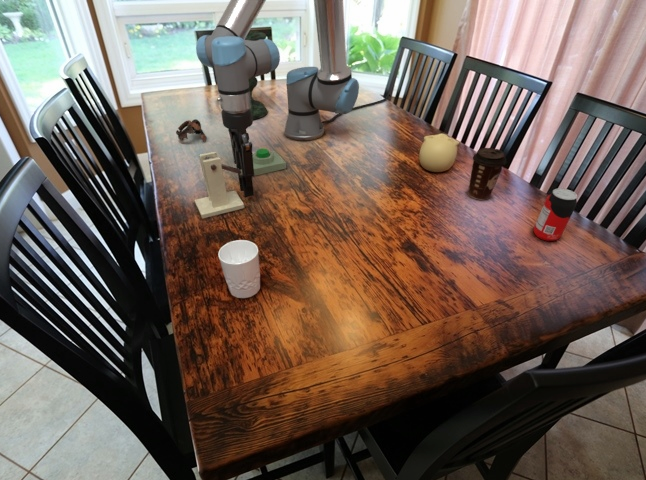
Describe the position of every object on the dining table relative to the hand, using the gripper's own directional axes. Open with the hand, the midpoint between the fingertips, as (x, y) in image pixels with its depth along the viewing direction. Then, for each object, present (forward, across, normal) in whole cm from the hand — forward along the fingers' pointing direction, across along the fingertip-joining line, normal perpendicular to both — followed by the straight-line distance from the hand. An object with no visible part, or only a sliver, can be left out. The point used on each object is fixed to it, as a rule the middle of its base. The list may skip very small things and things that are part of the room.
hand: (247, 192), depth 110 cm
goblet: (+2, -70, +22) cm, 74 cm away
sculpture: (+1, +9, +62) cm, 62 cm away
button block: (+2, -18, +12) cm, 22 cm away
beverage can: (+1, +52, +62) cm, 81 cm away
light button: (-2, -18, +12) cm, 22 cm away
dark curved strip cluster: (+2, -52, -4) cm, 52 cm away
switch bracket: (+2, 0, -8) cm, 9 cm away
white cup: (+3, +36, -12) cm, 38 cm away
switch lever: (-7, 0, -5) cm, 9 cm away
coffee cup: (+1, +29, +62) cm, 68 cm away
